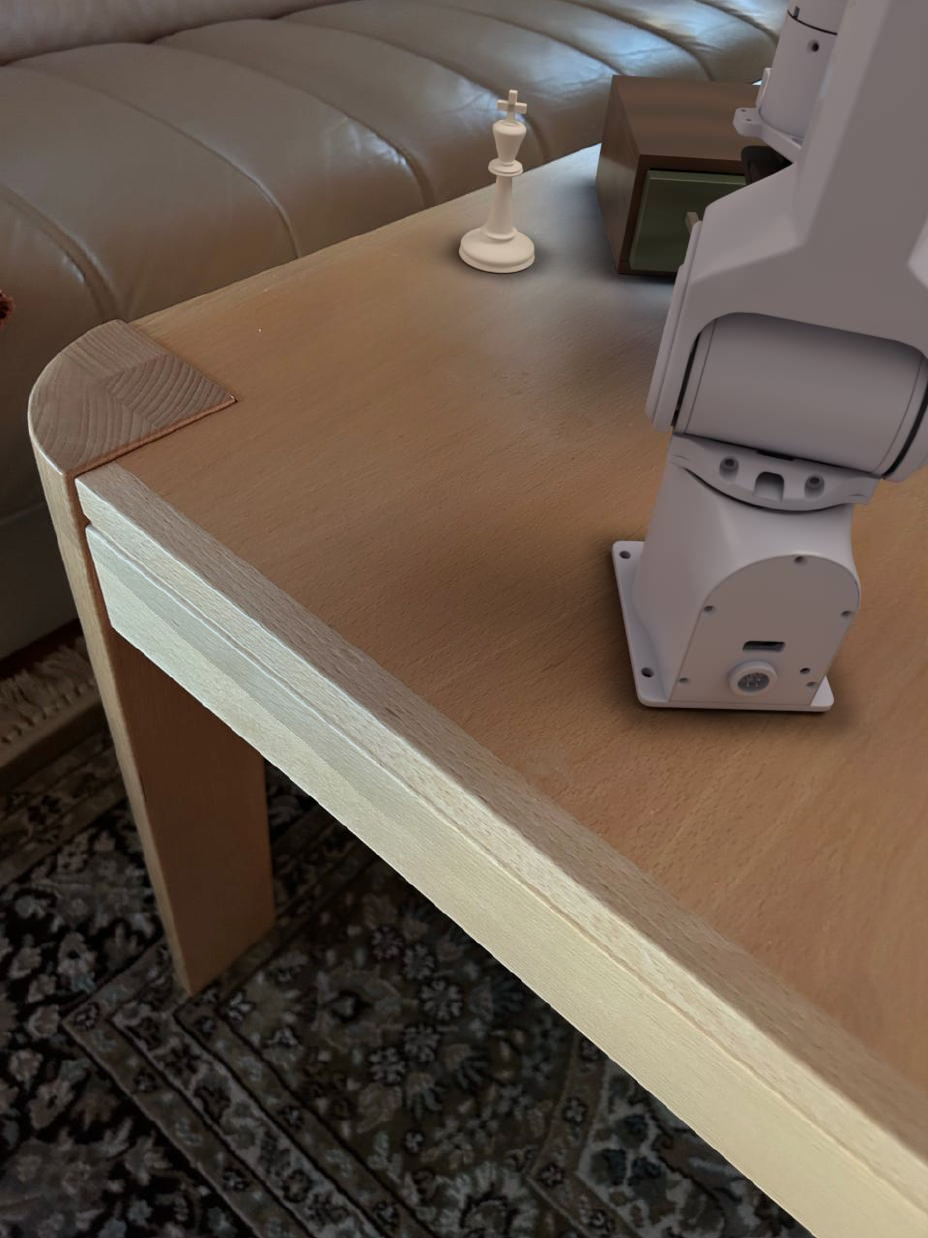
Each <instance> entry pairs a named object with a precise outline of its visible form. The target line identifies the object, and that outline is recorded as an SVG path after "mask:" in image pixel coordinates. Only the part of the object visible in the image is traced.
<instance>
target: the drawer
mask: <svg viewBox="0 0 928 1238" xmlns="http://www.w3.org/2000/svg"><path fill="white" fill-rule="evenodd" d="M744 187H746V181H745V176H730V175H715V174H699V173H684V172H682V170H679V169H664V168H650V170H647V172H646V177H645V182H644V187H643V192H642V197H641V202H640V207H639V212H638V217H637V222H636V227H635V232H634V237H633V242H632V247H631V252H630V257H629V262H630V266H631V269H634V270H651V271H668V272H678V270H679V267H680V266H681V265H682V264H684V261H685V257H686V253H687V249H688V245H689V241H690V236H691V232H692V228H693V225H694V224H695V223H697V222H698V221H703V217H704V213H705V209H706V207H707V206H708V205H710V204H711V203H713V202H715V201H717V200H718V199H720V198H722V197H724V196H727V195H729V194H731V193H733V192H735V191H737V190H739V189H742V188H744Z"/></svg>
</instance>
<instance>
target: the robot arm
mask: <svg viewBox="0 0 928 1238" xmlns="http://www.w3.org/2000/svg"><path fill="white" fill-rule="evenodd" d="M775 49H776V50H775V54H774V58H773V61H772V64H771V67H765V68H764V70H763V74H762V78H761V80H760V84H759V85H760V88H759V92H758V96H757V100H756V104H755V105H756V106H757V107H756V108H738V109H736V112H735V116H734V119H733V125H734V127H735V128H736V130H737V132H738V133H739V134H740V135H742V136H744V137H751V138H759V139H761V140H762V141H763V142H765V143H766V144H767V145H769V146H757V145H752V146H747V147H745V148H743V149H742V151H741V161H742V165H743V170H744V175H745V181H746V187H744V188H742V189H739V190H737V191H735V192H733V193H731V194H729V195H727V196H724V197H722V198H720V199H718V200H717V201H715V202H713V203H711V204H710V205H708V206H707V207H706V209H705V213H704V217H703V221H698V222H697V223H695V224H694V225H693V228H692V232H691V236H690V241H689V245H688V249H687V253H686V257H685V261H684V264H682V265H681V266H680V267H679V270H678V274H677V276H676V278H675V282H674V286H673V290H672V294H671V299H670V303H669V306H668V311H667V316H666V319H665V324H664V328H663V331H662V335H661V340H660V345H659V349H658V353H657V356H656V361H655V365H654V369H653V373H652V378H651V382H650V386H649V390H648V395H647V399H646V403H645V406H644V407H645V408H644V414H645V416H646V418H647V419H648V421H649V422H650V423H652V430H653V431H654V432H656V433H660V434H665V435H668V434H669V431H670V428H671V427H672V429H671V433H670V438H669V443H668V447H667V451H666V453H667V454H666V458H665V464H664V466H663V471H662V475H661V478H660V482H659V486H658V490H657V494H656V496H655V501H654V504H653V508H652V512H651V515H650V519H649V522H648V527H647V530H646V533H645V538H644V541H640V540H639V541H636V540H618V541H615V542H614V543H613V545H612V548H611V558H612V563H613V569H614V574H615V579H616V585H617V589H618V597H619V602H620V606H621V613H622V618H623V624H624V629H625V636H626V642H627V647H628V653H629V658H630V662H631V668H632V672H633V673H632V675H633V680H634V685H635V691H636V697H637V699H638V701H639V702H640V703H641V704H642V705H645V706H647V707H651V708H654V707H655V708H681V709H682V708H683V709H687V708H688V709H721V710H753V711H756V710H757V711H787V712H788V711H791V712H828V711H829V710H831V708H832V706H833V705H834V702H835V697H834V695H833V691H832V688H831V686H830V683H829V681H828V678H827V674H828V672H829V670H830V668H831V667H832V664H833V662H834V659H835V658H836V656H837V654H838V652H839V650H840V649H841V646H842V644H843V642H844V640H845V638H846V637H847V634H848V632H849V630H850V628H851V626H852V624H853V622H854V621H855V619H856V617H857V614H858V613H859V610H860V606H861V602H862V588H861V587H862V586H861V581H860V578H859V574H858V571H857V567H856V563H855V560H854V555H853V545H852V527H853V526H852V525H853V519H854V510H855V508H856V505H863V506H868V505H870V503H871V501H872V498H873V497H874V495H875V492H876V490H877V489H878V485H880V481H881V480H883V481H886V482H889V483H895V484H897V483H898V484H900V483H903V482H904V481H907V479H909V478H910V477H912V475H914V474H915V473H916V472H918V471H920V470H921V469H923V468H924V467H926V465H927V464H928V0H789V2H788V5H787V9H786V13H785V16H784V20H783V23H782V27H781V31H780V34H779V39H778V42H777V46H776V48H775ZM645 675H648V676H649V677H648V676H645Z"/></svg>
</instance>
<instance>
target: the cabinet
mask: <svg viewBox="0 0 928 1238" xmlns="http://www.w3.org/2000/svg"><path fill="white" fill-rule="evenodd" d="M760 85H761V84H754V83H753V84H751V83H741V82H740V83H739V82H725V81H724V82H723V81H710V80H699V79H697V80H695V79H684V78H683V79H682V78H667V77H653V76H640V75H626V74H625V75H624V74H612V76H611V83H610V89H609V93H608V94H609V95H608V101H607V105H606V112H605V119H604V124H603V130H602V136H601V143H600V149H599V156H598V162H597V167H596V172H595V180H594V189H595V192H596V196H597V200H598V204H599V208H600V212H601V215H602V220H603V224H604V228H605V232H606V236H607V239H608V243H609V248H610V250H611V255H612V259H613V262H614V266H615V270H616V273H617V274H629V275H631V274H632V275H647V276H648V275H649V276H667V277H677V274H678V272H668V271H651V270H634V269H631V266H630V262H629V257H630V252H631V247H632V242H633V237H634V232H635V227H636V222H637V217H638V212H639V207H640V202H641V197H642V192H643V187H644V182H645V177H646V172H647V170H650V168H664V169H679V170H695V171H710V172H726V173H741V174H744V170H743V165H742V161H741V151H742V149H743V148H745V147H747V146H752V145H757V146H769V145H767V144H766V143H765V142H763V141H762V140H761V139H759V138H751V137H744V136H742V135H740V134H739V133H738V132H737V130H736V128H735V127H734V125H733V119H734V116H735V112H736V109H738V108H756V107H757V106H756V105H755V104H756V100H757V96H758V92H759V88H760Z"/></svg>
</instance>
